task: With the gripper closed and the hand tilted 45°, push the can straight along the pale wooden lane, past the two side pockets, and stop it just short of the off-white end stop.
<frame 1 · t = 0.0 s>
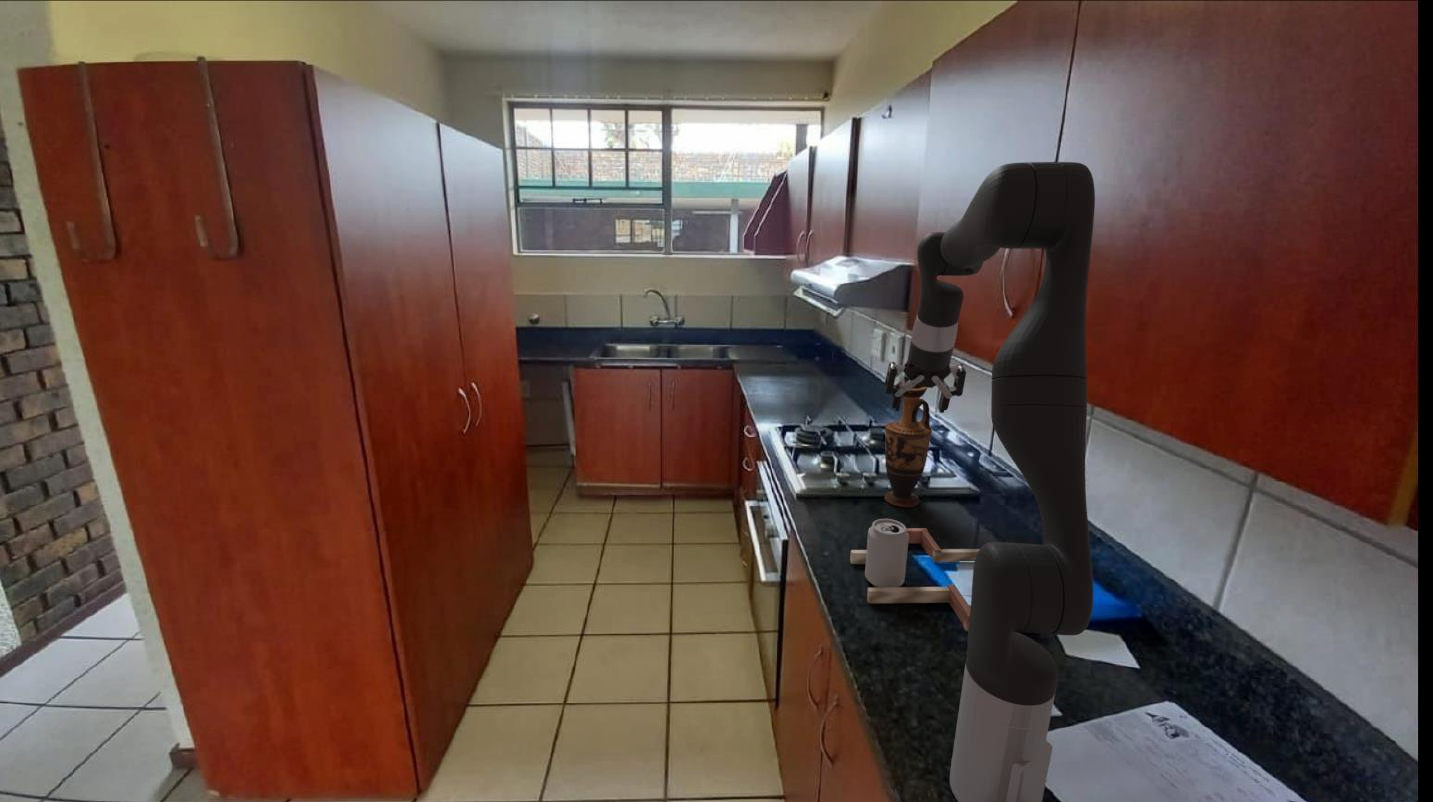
hand: (918, 409, 117), 31 cm above the worktop, tool tilted 20°, fingers open, 8 cm apart
vase: (901, 501, 148), on the worktop
can: (884, 581, 115), on the worktop
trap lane: (935, 580, 115), on the worktop
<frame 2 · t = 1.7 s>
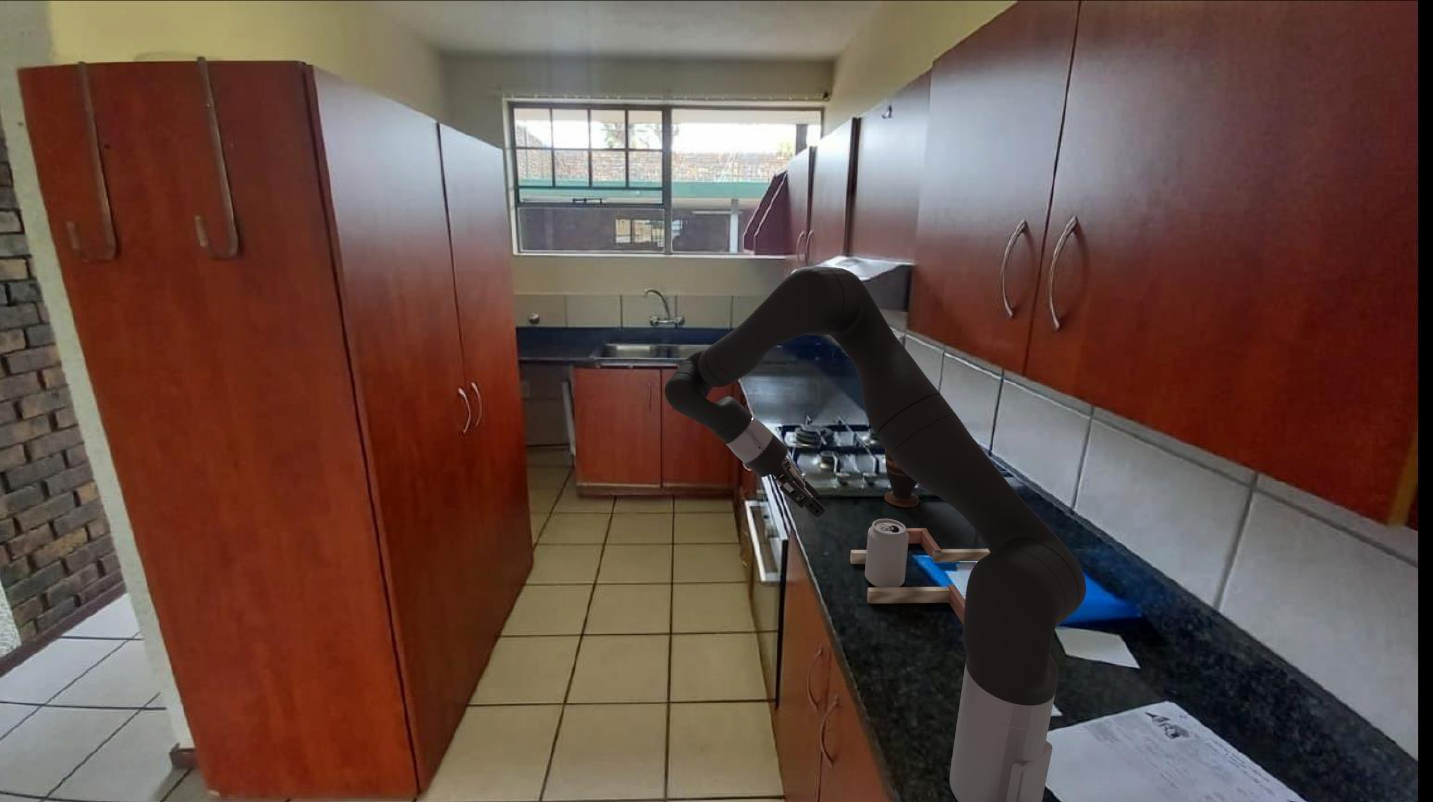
hand: (817, 504, 110), 16 cm above the worktop, tool tilted 45°, fingers open, 6 cm apart
nothing on the worktop moved.
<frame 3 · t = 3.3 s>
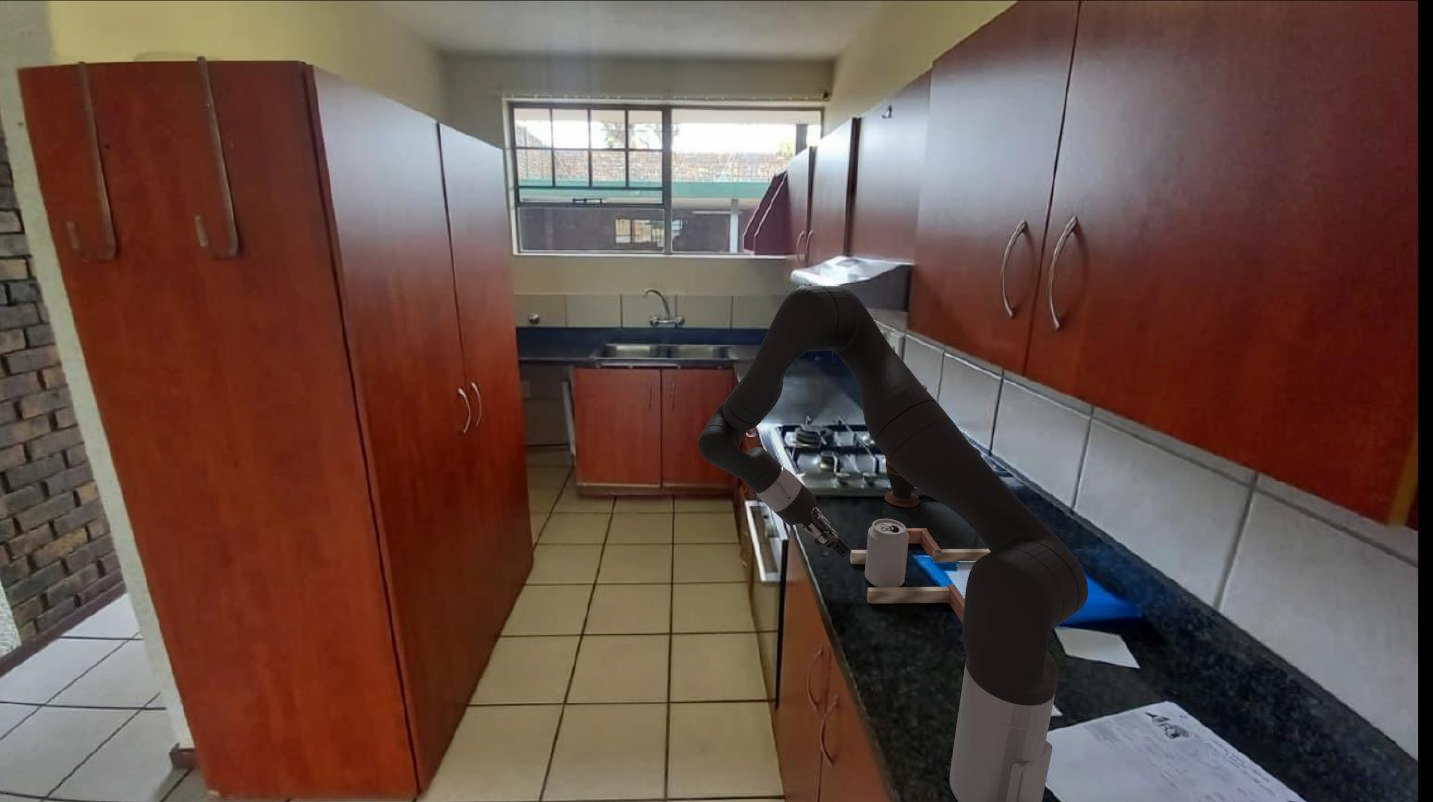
hand: (846, 552, 113), 6 cm above the worktop, tool tilted 45°, fingers closed
nothing on the worktop moved.
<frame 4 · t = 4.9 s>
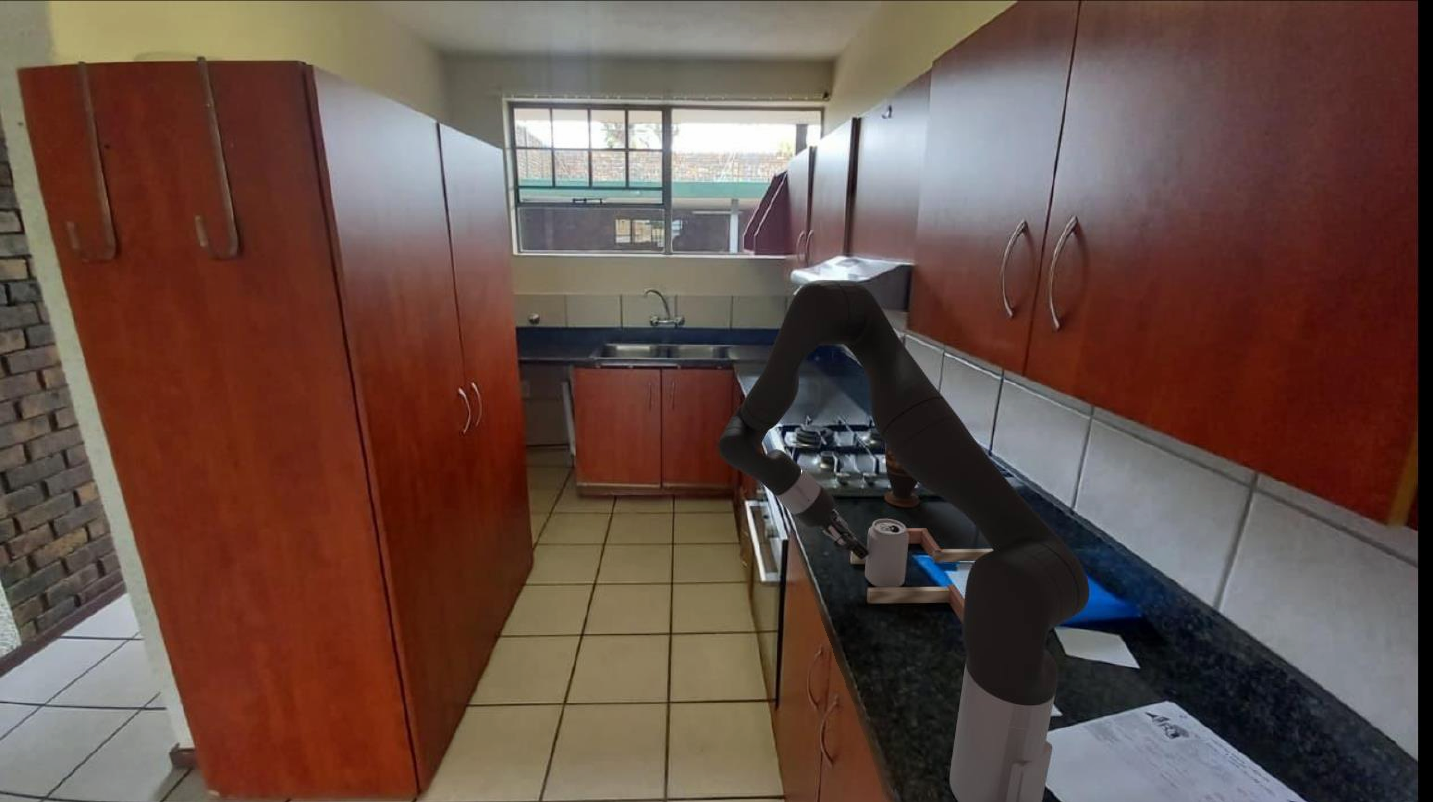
hand: (864, 554, 113), 6 cm above the worktop, tool tilted 45°, fingers closed
can: (884, 581, 115), on the worktop, touching gripper
everything else where it was.
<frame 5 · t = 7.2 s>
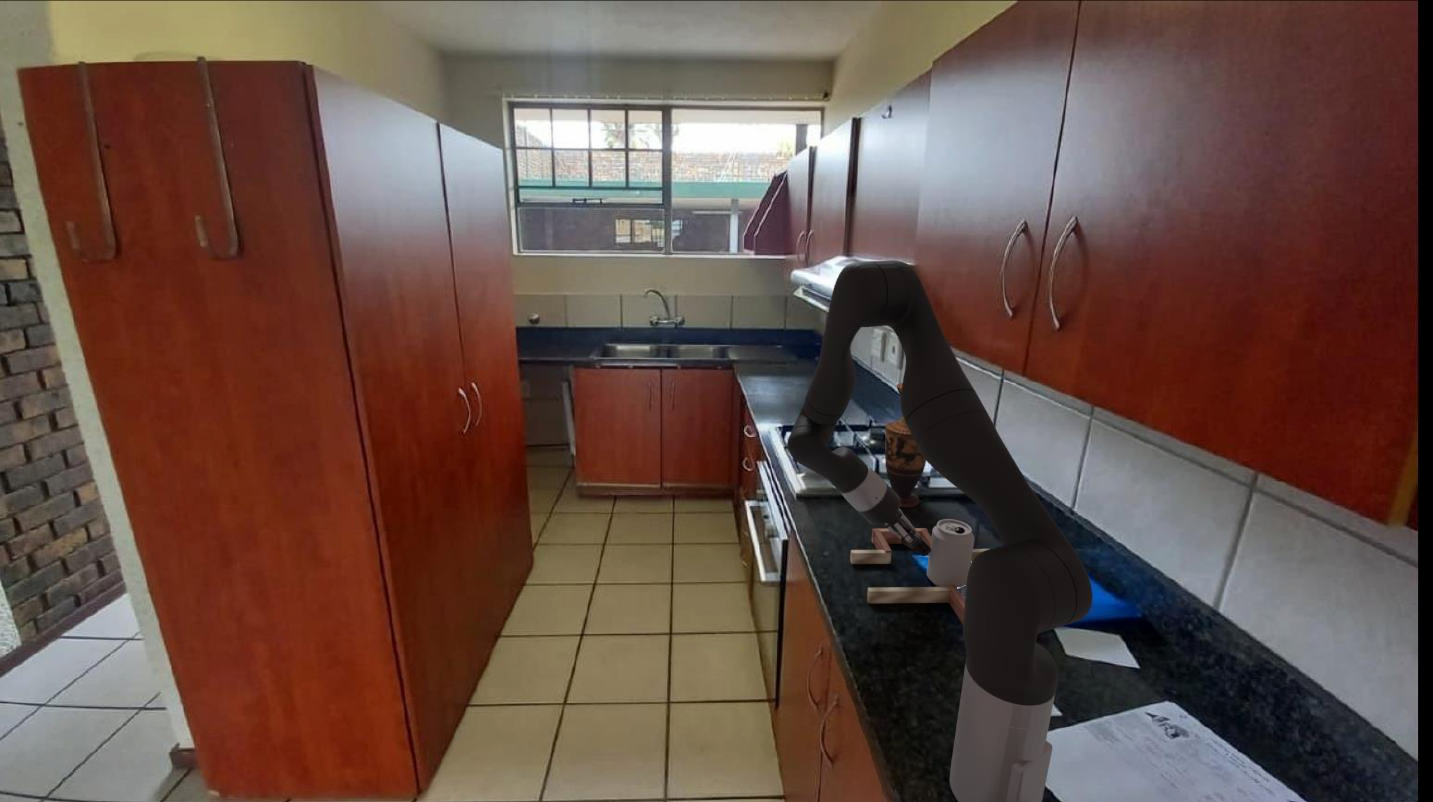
hand: (926, 551, 114), 6 cm above the worktop, tool tilted 45°, fingers closed
can: (946, 582, 114), on the worktop, touching gripper
everything else where it was.
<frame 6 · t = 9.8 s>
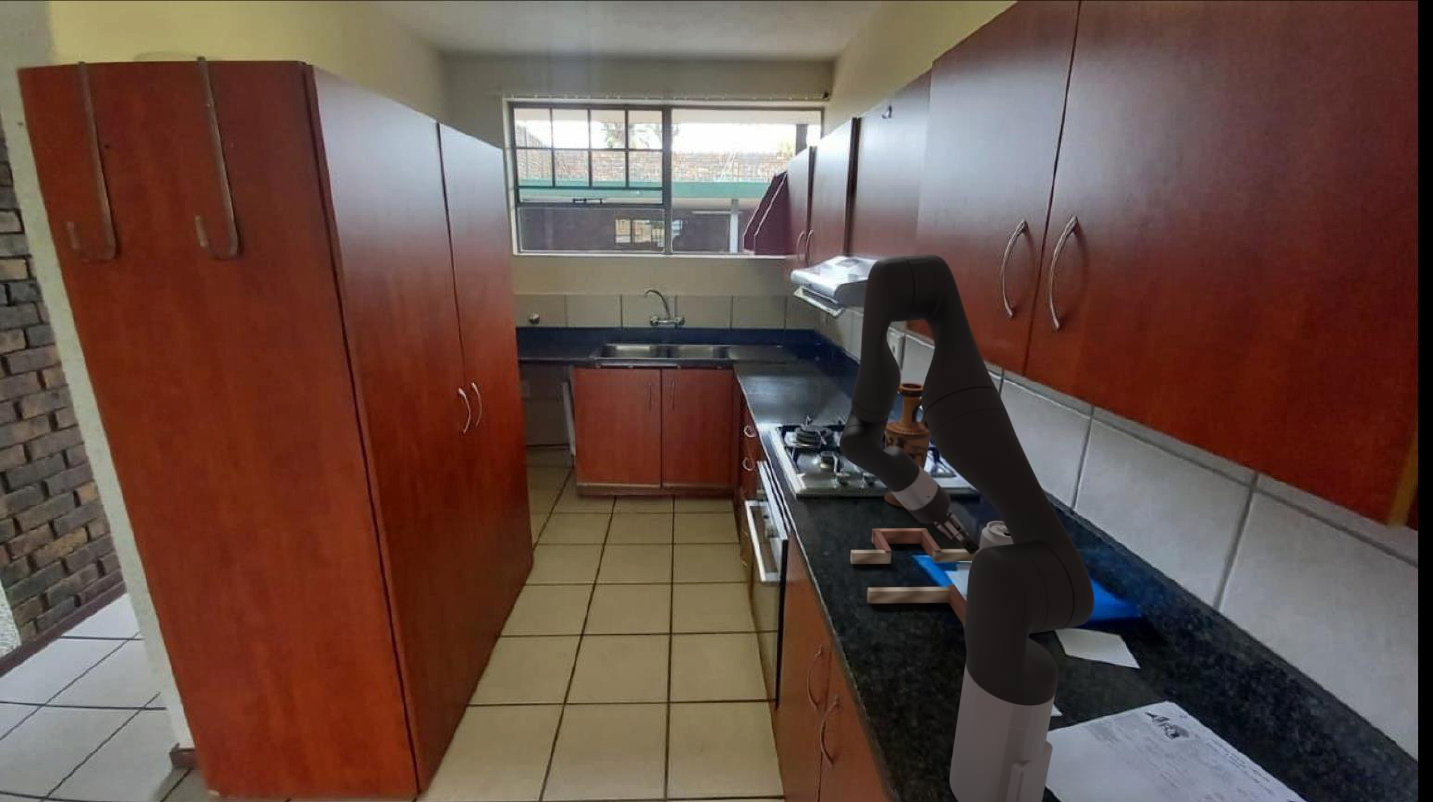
hand: (974, 549, 114), 6 cm above the worktop, tool tilted 45°, fingers closed
can: (994, 584, 114), on the worktop, touching gripper
everything else where it was.
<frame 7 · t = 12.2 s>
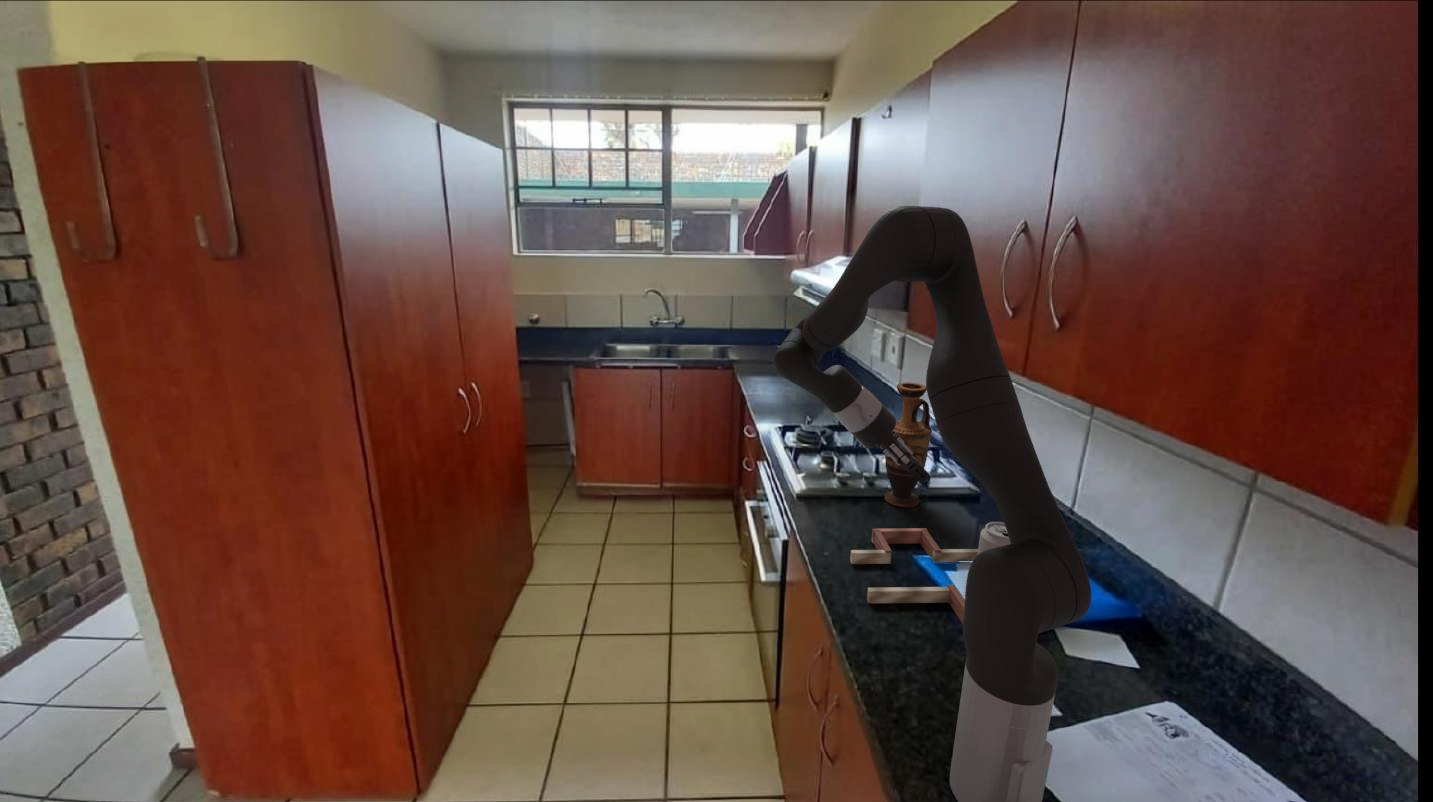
hand: (924, 478, 108), 22 cm above the worktop, tool tilted 45°, fingers closed
can: (994, 585, 113), on the worktop
everything else where it was.
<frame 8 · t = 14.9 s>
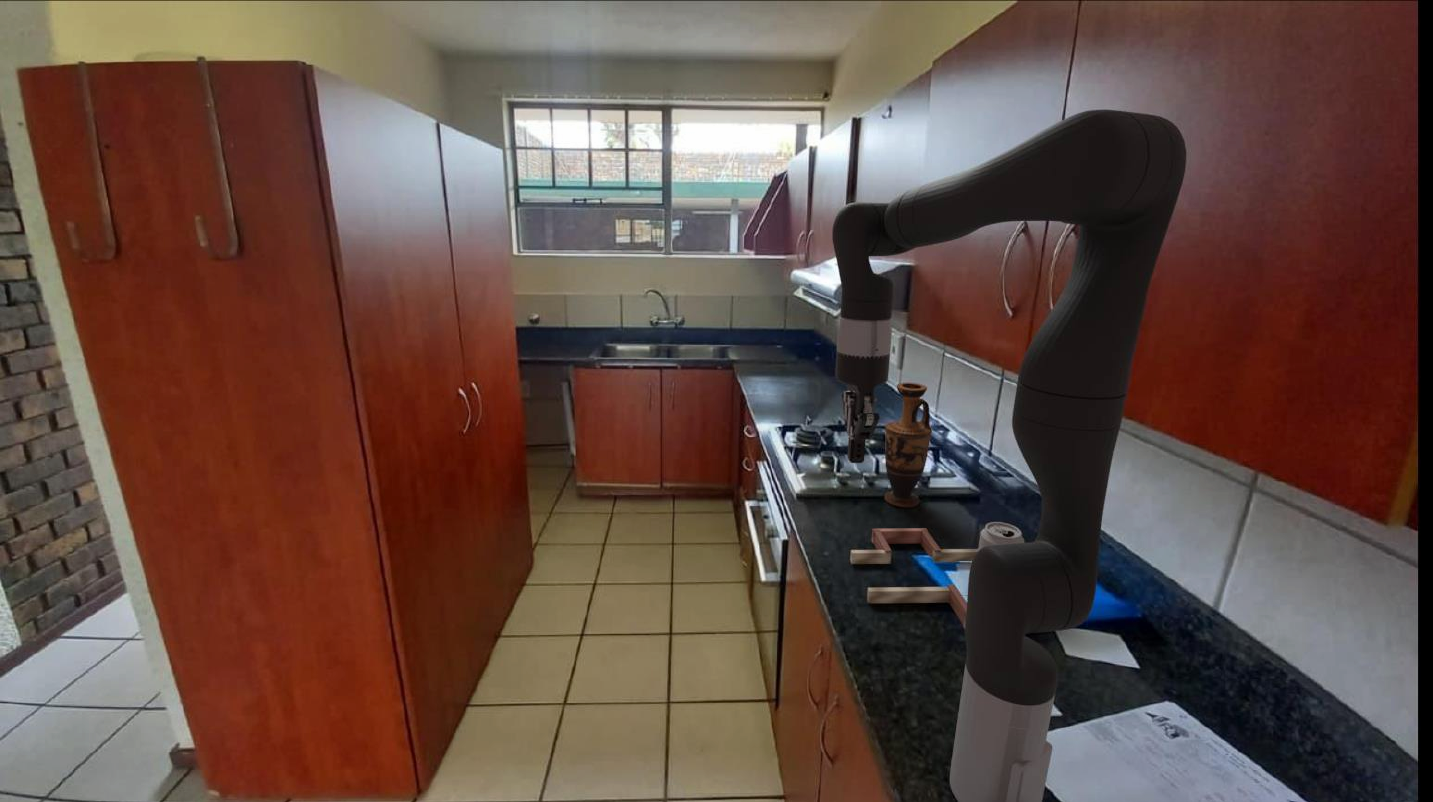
hand: (855, 461, 89), 32 cm above the worktop, tool pointing down, fingers closed
nothing on the worktop moved.
at the end: can 1.8 cm from the target spot, on the worktop; can tilted 0°; can moved 21.1 cm from its start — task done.
